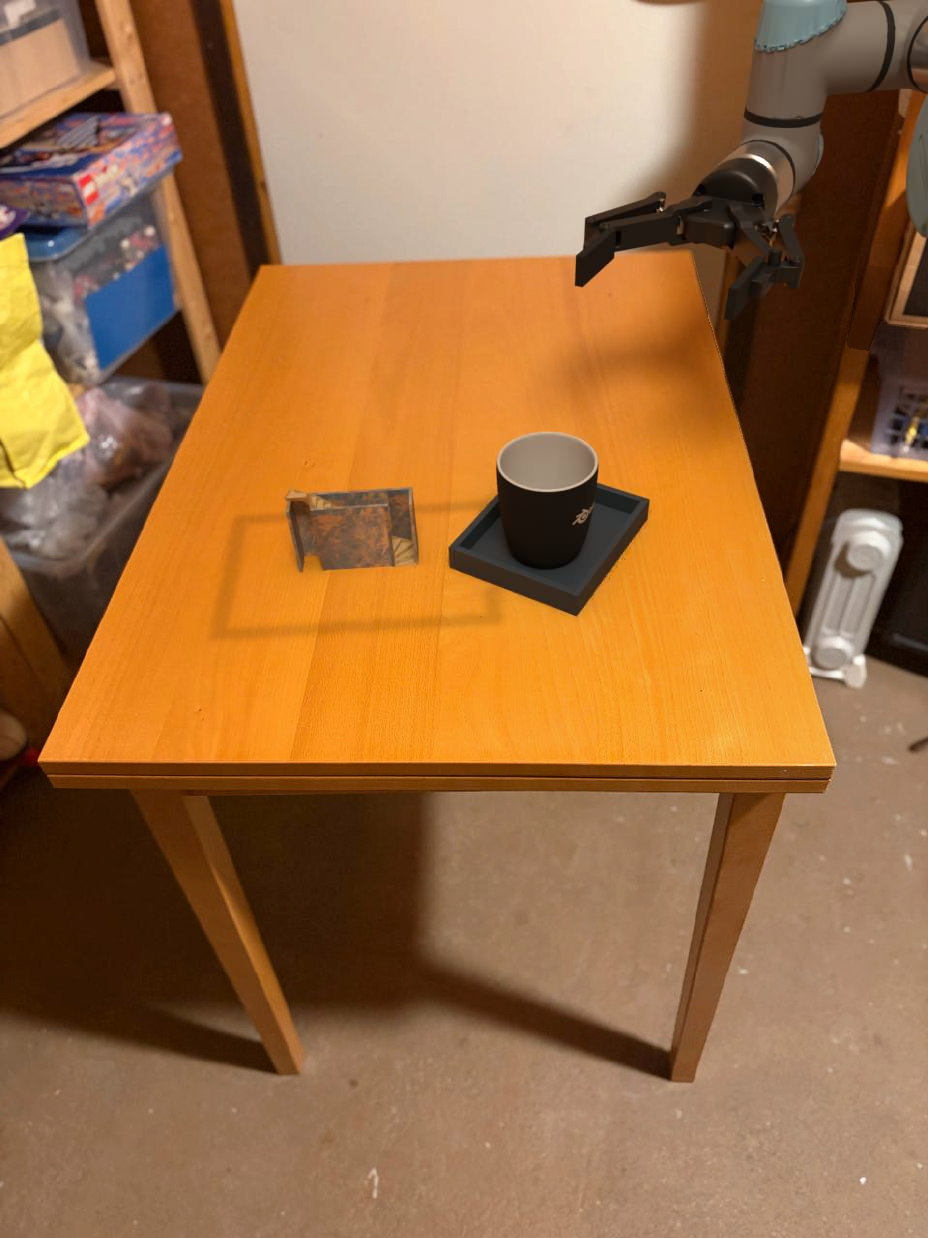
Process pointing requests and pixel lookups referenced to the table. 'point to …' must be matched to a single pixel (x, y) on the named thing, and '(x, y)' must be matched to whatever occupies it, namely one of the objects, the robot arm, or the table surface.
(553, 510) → the mug
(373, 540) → the architectural model on board
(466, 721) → the table surface
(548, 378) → the table surface
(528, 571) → the tray
